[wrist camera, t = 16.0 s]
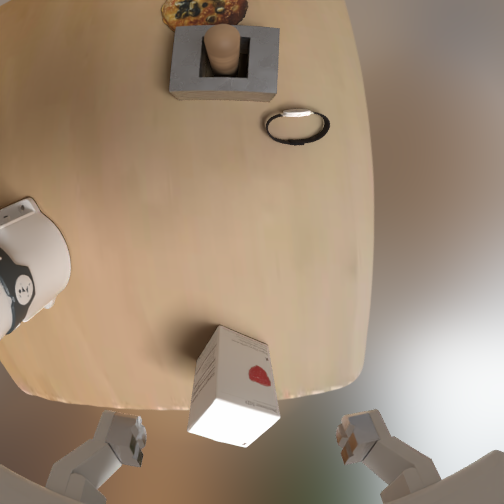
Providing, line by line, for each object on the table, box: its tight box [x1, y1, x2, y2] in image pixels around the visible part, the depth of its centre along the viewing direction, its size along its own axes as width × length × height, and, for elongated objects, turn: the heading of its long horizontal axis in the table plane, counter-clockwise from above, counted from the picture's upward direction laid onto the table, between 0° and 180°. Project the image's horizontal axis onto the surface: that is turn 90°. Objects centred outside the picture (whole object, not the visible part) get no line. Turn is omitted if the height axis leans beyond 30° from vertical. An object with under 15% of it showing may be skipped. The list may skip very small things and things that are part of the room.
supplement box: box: [187, 325, 280, 447], centre depth 37 cm, size 9×9×15 cm
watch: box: [266, 109, 330, 145], centre depth 31 cm, size 8×5×4 cm, turn 98°
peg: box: [204, 24, 240, 78], centre depth 24 cm, size 3×3×12 cm
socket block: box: [169, 25, 280, 102], centre depth 27 cm, size 11×8×6 cm
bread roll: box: [162, 0, 248, 32], centre depth 24 cm, size 11×11×5 cm
